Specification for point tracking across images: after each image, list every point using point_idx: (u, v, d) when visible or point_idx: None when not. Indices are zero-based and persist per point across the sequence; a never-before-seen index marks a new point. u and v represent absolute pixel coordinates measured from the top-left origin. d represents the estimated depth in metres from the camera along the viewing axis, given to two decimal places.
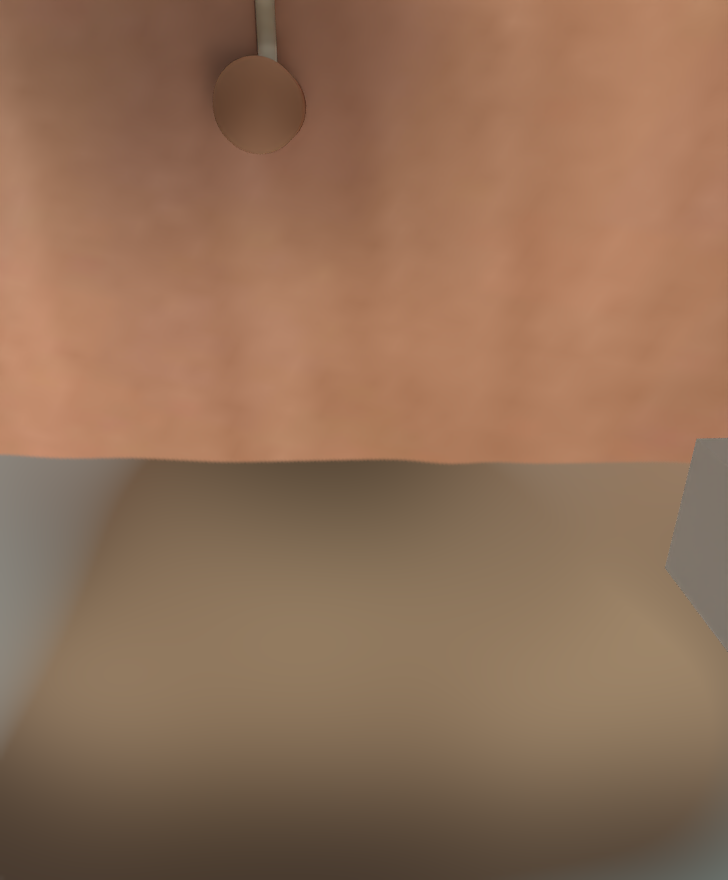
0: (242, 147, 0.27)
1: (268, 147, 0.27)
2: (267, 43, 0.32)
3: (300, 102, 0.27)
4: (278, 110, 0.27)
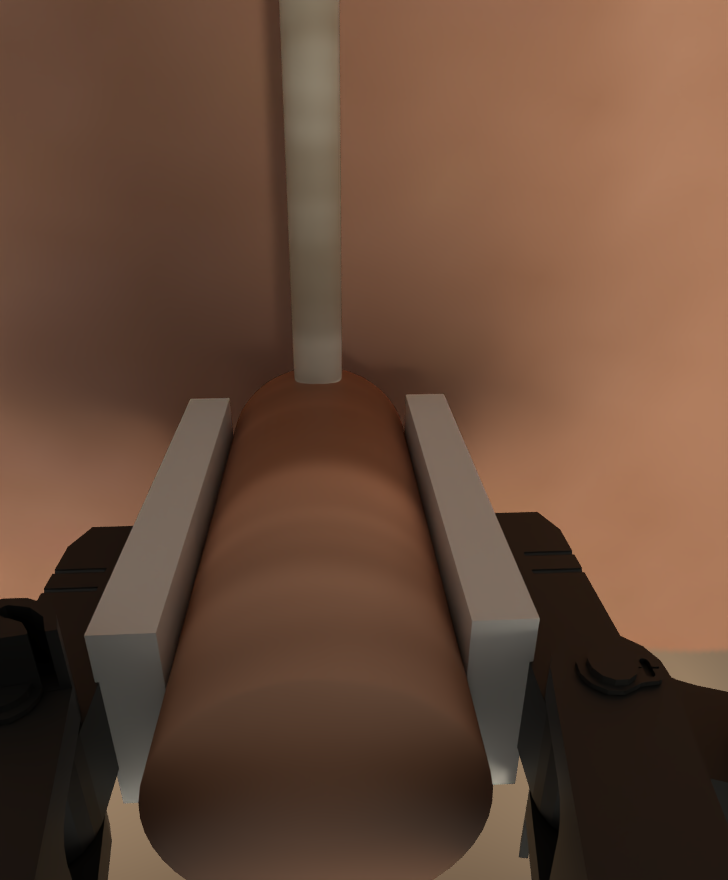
0: None
1: None
2: (320, 334, 0.12)
3: (488, 788, 0.07)
4: (399, 815, 0.07)
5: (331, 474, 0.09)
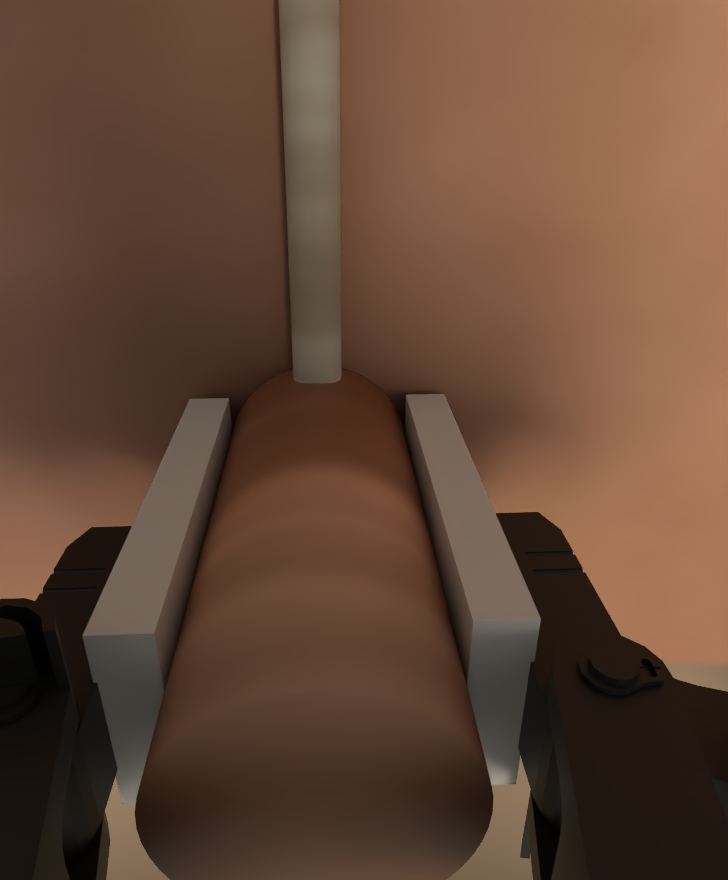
0: None
1: None
2: (320, 333, 0.12)
3: (488, 799, 0.07)
4: (398, 826, 0.07)
5: (330, 478, 0.09)
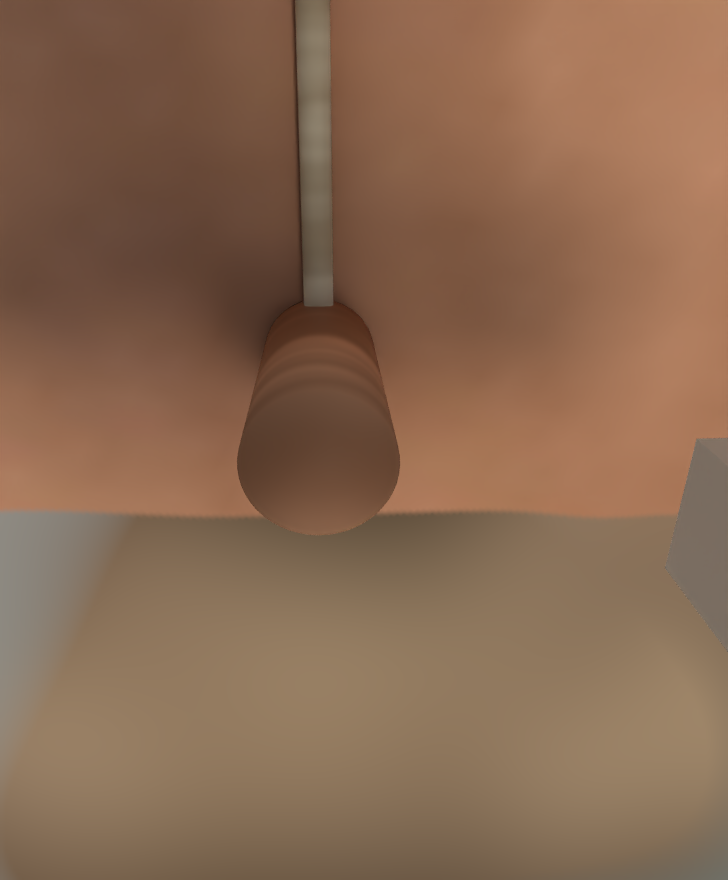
0: (289, 526, 0.15)
1: (336, 525, 0.15)
2: (320, 274, 0.20)
3: (397, 458, 0.15)
4: (356, 472, 0.15)
5: (326, 338, 0.17)
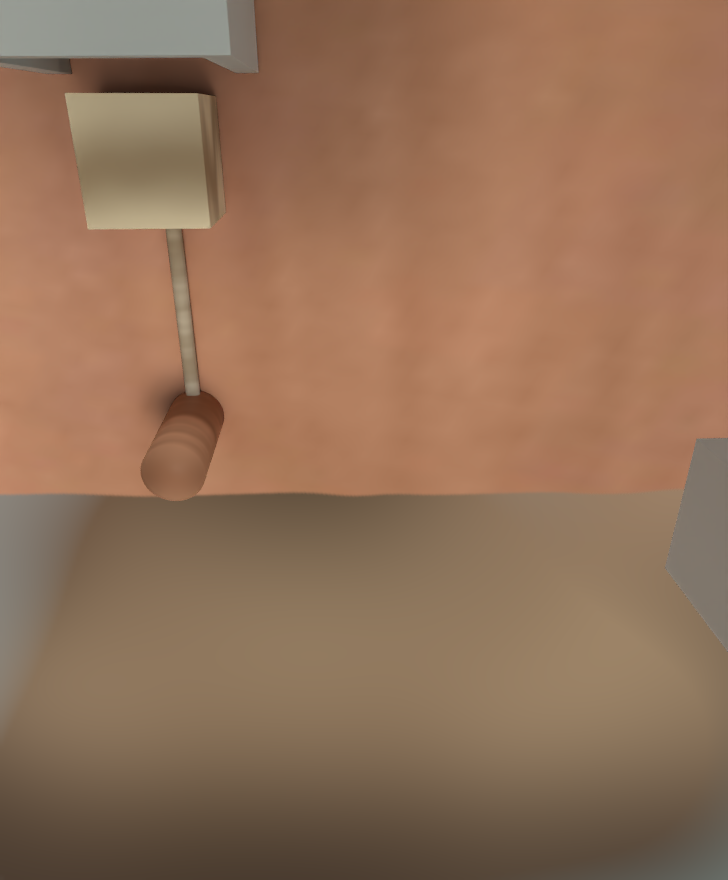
0: (163, 497, 0.38)
1: (182, 496, 0.38)
2: (191, 382, 0.42)
3: (204, 470, 0.37)
4: (188, 475, 0.37)
5: (185, 417, 0.40)
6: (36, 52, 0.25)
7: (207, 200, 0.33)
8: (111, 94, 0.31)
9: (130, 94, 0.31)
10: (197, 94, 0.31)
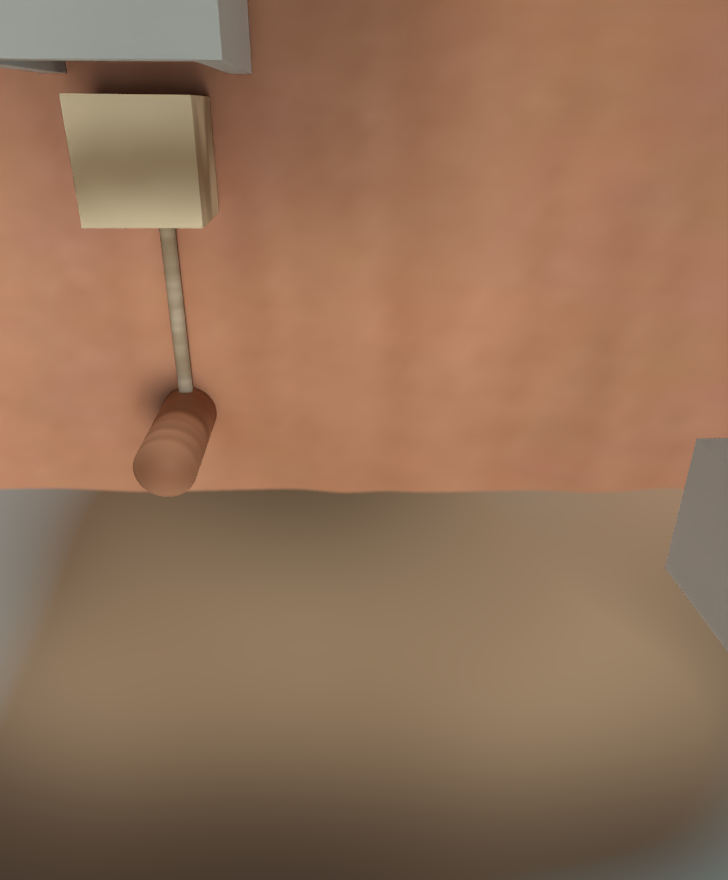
0: (155, 493, 0.38)
1: (174, 492, 0.38)
2: (184, 379, 0.43)
3: (195, 466, 0.38)
4: (180, 472, 0.38)
5: (177, 414, 0.40)
6: (30, 55, 0.25)
7: (200, 200, 0.34)
8: (105, 95, 0.31)
9: (124, 95, 0.31)
10: (190, 96, 0.32)
